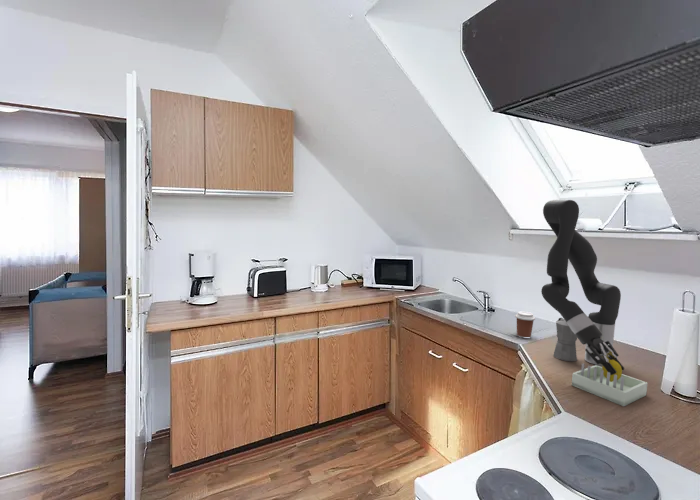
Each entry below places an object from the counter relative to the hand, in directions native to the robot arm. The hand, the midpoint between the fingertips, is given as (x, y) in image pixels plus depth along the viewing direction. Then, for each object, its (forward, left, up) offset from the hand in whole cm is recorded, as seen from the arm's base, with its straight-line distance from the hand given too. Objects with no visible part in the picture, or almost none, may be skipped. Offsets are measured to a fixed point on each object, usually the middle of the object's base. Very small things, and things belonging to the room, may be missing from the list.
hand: (617, 371), depth 122 cm
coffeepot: (-16, -27, -7) cm, 32 cm away
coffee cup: (-25, -52, -7) cm, 58 cm away
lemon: (0, -2, -4) cm, 5 cm away
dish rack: (+2, -2, -7) cm, 7 cm away
